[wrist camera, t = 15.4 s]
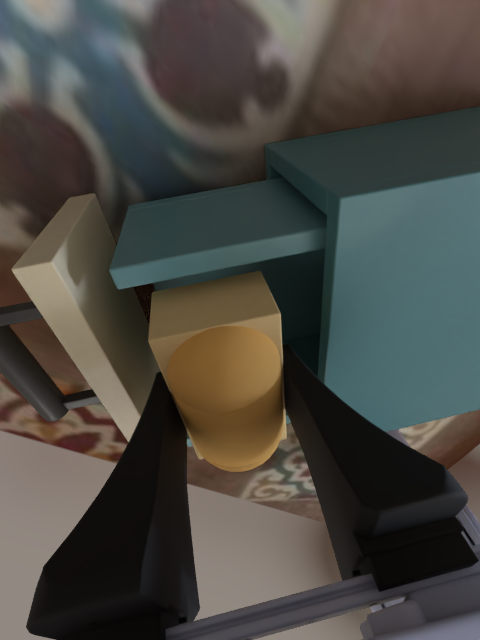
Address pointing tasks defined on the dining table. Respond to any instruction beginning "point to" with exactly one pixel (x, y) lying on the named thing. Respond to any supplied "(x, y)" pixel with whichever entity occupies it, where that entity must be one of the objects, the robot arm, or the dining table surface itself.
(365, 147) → the cabinet
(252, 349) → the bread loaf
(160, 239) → the drawer
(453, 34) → the dining table surface
